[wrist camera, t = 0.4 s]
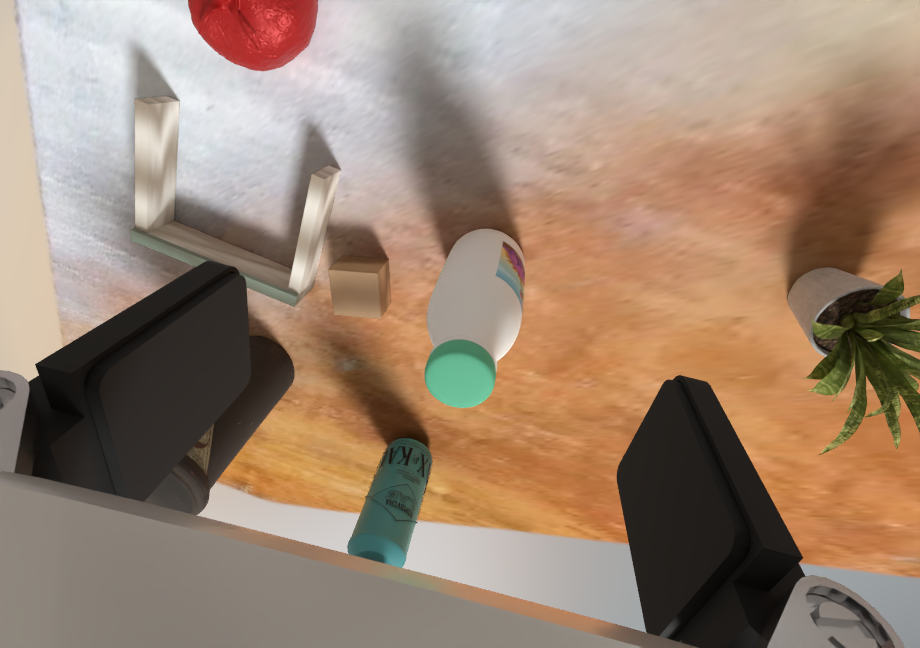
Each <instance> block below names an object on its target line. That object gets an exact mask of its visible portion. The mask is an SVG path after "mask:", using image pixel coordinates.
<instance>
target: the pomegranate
mask: <svg viewBox="0 0 920 648" xmlns="http://www.w3.org/2000/svg"><path fill="white" fill-rule="evenodd" d="M188 5H189V9H190V13H191V19H192V22H193V25H194V26H195V28H196V29H197V31H198V32H199V34H200V35H201V36H202V38H203V39H204V40H205V41H206V42H207V43H208V44H209V45H210V46H211V47H212V48H213V49H214V50H215V51H216V52H218V53H219V54H220V55H221V56H223V57H225V58H226V59H227V60H229V61H231V62H233V63H234V64H237V65H240V66H243V67H246V68H248V69H251V70H256V71H267V70H272V69H276V68H279V67H282V66H284V65H285V64H287V63H288V62H290V61H292V60H293V59H294V58H295V57H296V56H297V55H298V54H299V53H300V52H301V51H303V50H304V49H305V48H306V47H307V46H308V45H309V43H310V40H311V37H312V34H313V32H314V29H315V25H316V17H317V12H318V0H188Z"/></svg>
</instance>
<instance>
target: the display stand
mask: <svg viewBox="0 0 920 648" xmlns="http://www.w3.org/2000/svg"><path fill="white" fill-rule="evenodd" d="M179 106H180V101H178V100H176V99H173V98H171V97H169V96H161V97H149V98H138V99H135V228H134V229H131V230H130V232H131V241H133V242H135V243H138V244H140V245H143V246H145V247H148V248H150V249H153V250H155V251H158V252H160V253H163V254H165V255H167V256H170V257H172V258H175V259H177V260H180V261H182V262H185V263H187V264H190V265H192V266H195V267H197V266H199V265H200V264H202V263H203V262H206V261H213V262H217V263H221V264H225V265H230V266H234V267H236V268H237V269H238V271H239V273H240V275H243V276H244V277H245V279H246V287H247V288H249V289H252V290H254V291H257V292H259V293H262V294H264V295H266V296H269V297H271V298H274V299H276V300H279V301H281V302H284V303H286V304H289V305H291V306H294V307H295V306H296V305H297V304H298V303H299V302H300V301H301V299H302V298H303V297H304V296H305V295H306V294H307V293H308V292H309V291H310V290H311V289H312V288H313V286H314V282H315V278H316V274H317V269H318V265H319V261H320V257H321V253H322V248H323V244H324V240H325V236H326V232H327V227H328V223H329V219H330V215H331V211H332V206H333V202H334V198H335V194H336V190H337V185H338V181H339V177H340V173H341V170H339V169H337V168H335V167H332V166H330V165H329V166H327V167H325V168H323V169H321V170H319V171H317V172H315V173H313V174H312V175H311V180H310V184H309V189H308V194H307V199H306V204H305V209H304V214H303V219H302V224H301V228H300V233H299V238H298V243H297V248H296V253H295V258H294V263H293V268H292V269H291V268H288V267H286V266H283V265H281V264H278V263H276V262H274V261H271V260H269V259H266V258H264V257H261V256H259V255H256V254H254V253H252V252H249V251H247V250H244V249H242V248H239V247H237V246H234V245H232V244H230V243H227V242H225V241H222V240H220V239H217V238H215V237H212V236H210V235H208V234H205V233H203V232H200V231H198V230H195V229H193V228H190V227H188V226H186V225H183V224H181V223H178V222H176V221H174V213H175V191H176V170H177V148H178V127H179Z"/></svg>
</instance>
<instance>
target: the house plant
mask: <svg viewBox="0 0 920 648" xmlns="http://www.w3.org/2000/svg"><path fill="white" fill-rule="evenodd" d="M903 290H904V282H903V277H902V270H901V271H900V273H899V275H897V276H896V277H895V278H893V279H892V280H890V281H889V282H888V283H886V284H885V285H884V286H883V285H880V284H877V283H875V282H872V281H869V280H867V279H864V278H861V277H858V276H856V275H853V274H850V273H848V272H845V271H842V270H839V269H837V268H830V267H826V268H818V269H815V270H812V271H810V272H808V273H805V274H804V275H802V276H801V277H800V278H798V279H797V280H796V282H795V283H794V284H793V286H792V288H791V290H790V292H789V295H788V298H787V299H788V305H789V307H790V308H791V310H792V312H793V314H794V315H795V317H796V319H797V320H798V322H799V324H800V326H801V327H802V329H803V331H804V332H805V334H806V336H807V338H808V339H809V341H810V343H811V344H812V346H813V348H814V349H815V350H816V351H817V352H818V353H820V354H821V355H823V356H825V358H824V359H823V360H822V361H821V362H820V363H819V364H818V365H817V366H816V367H815V369H814V370H813V372H812V373H811V374H810V375H809V376H808V377H807V378H802V379H822V380H821V381H820V382H819V383H818V384H817V385H816V386H815V388H813V389H811V390H809V391H812V392H816V393H819V394H823V395H835V394H837V395H836V397H837V396H838V394H839V393H840V392H841V391H842V390H843V389H844V388H845V386H846V384H847V382H848V380H849V378H850V374H851V371H852V369H853V366H854V362H855V373H856V388H855V392H854V397H853V400H852V402H851V405H850V407H849V410H850V409H851V408H852V410H851V413H850V415H849V417H848V418H847V420H846V422H845V424H844V426H843V428H842V430H841V432H840V434H839V435H838V437H837V438H836V439H835V440H834V441H833V442H831V443H830V444H829V445H828V446H827V447H826V448H825V449H824V450H823V451H822V453H821V454H823V453H826V452H828V451H830V450H832V449H834V448H836V447H838V446H839V445H841V444H842V443H843V442H845V441H846V440H847V439H849V438H850V437H851V436H852V435H853V433H854V432H855V431H856V430H857V428H858V427H859V425H860V423H861V422H862V419H863V417H864V415H865V411H866V406H867V396H866V376H867V378H868V379H869V381H870V383H871V384H872V386H873V388H874V389H875V391H876V393H877V396H878V398H879V400H880V403H881V405H882V407H881V408H880V409H878V410H876V411H874V412H872V413H870V414H868V415H867V416H865V417H870V416H875V415H879V414H881V413H883V412H884V413H885V416H886V420H887V423H888V426H889V428H890V431H891V433H892V435H893V438H894V445H895V446H896V448H898V445H899V442H900V436H901V431H900V425H899V421H898V418H899V415H900V406H901V404H900V398H899V395H900V396H902V398H903V399H904V401H905V403H906V404H907V406H908V408H909V410H910V412H911V414H912V416H913V418H914V420H915V422H916V425H917V427H918V429H919V432H920V394H919V393H918V392H917V391H916V390H917V389H918V387H919V384H918V383H917V381H915V380H914V379H913V378H912V377H911V376H910V375H909V374H911V375H913V376H914V377H916V378H918V379H920V360H919V359H917V358H915V357H913V356H911V355H909V354H907V353H905V352H903V351H901V350H899V349H898V348H896V347H894V346H893V345H892V344H895V345H897V346H899V347H902V348H905V349H908V350H912V351H916V352H920V333H919V332H914V331H910V330H918V331H920V319H910V307H912V306H914V305H916V304H918V303H920V295H918V296H913V297H909V298H904V297H903V296H902V295H901V294H902V293H903ZM908 373H909V374H908ZM865 374H866V375H865ZM807 390H808V389H807ZM898 393H899V395H898ZM836 397H835V398H836ZM835 398H834V399H835ZM833 401H834V400H833ZM833 401H832V402H833ZM852 406H853V407H852ZM849 410H848V412H849ZM848 412H847V413H848ZM821 454H819V455H821Z"/></svg>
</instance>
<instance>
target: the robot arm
mask: <svg viewBox="0 0 920 648" xmlns="http://www.w3.org/2000/svg"><path fill="white" fill-rule="evenodd" d="M35 365H36V368H37V370H38V373H39V376H37V377H36V378H34V379H32V380H31V381H29V382H28V381H27V380H26V379H25V378H24V377H23V376H21V375H19V374H16V373H13V372H10V371H1V370H0V648H905V647H904V644H903V642H902V641H901V639H900V638H899V636H898V635H897V634H896V632H895V631H894V629H893V628H892V627H891V625H890V624H889V623H888V622H887V621H886V620H885V619H884V618H883V617H882V616H881V615H880V613H879V612H878V611H877V610H876V609H875V608H874V607H872V606H871V605H870V604H869V603H868V602H866V601H865V600H864V599H863V598H862V597H860V596H859V595H858V594H856V593H855V592H853V591H851V590H850V589H848V588H847V587H845V586H844V585H842V584H840V583H837V582H835V581H832V580H830V579H828V578H825V577H819V576H813V575H811V576H806V577H805V575H804V573H803V571H802V569H801V567H800V565H799V562H800V561H801V560H802V559H803V557H802V555H801V553H800V551H799V549H798V547H797V546H796V544H795V542H794V540H793V538H792V536H791V534H790V533H789V531H788V529H787V527H786V525H785V523H784V521H783V520H782V518H781V516H780V514H779V512H778V510H777V508H776V507H775V505H774V503H773V501H772V499H771V497H770V496H769V494H768V492H767V490H766V488H765V486H764V484H763V483H762V481H761V479H760V477H759V475H758V473H757V471H756V470H755V468H754V466H753V464H752V462H751V460H750V458H749V457H748V455H747V453H746V451H745V449H744V447H743V445H742V444H741V442H740V440H739V438H738V436H737V434H736V432H735V431H734V429H733V427H732V425H731V423H730V421H729V419H728V418H727V416H726V414H725V412H724V410H723V408H722V406H721V405H720V403H719V401H718V399H717V397H716V395H715V393H714V392H713V390H712V388H711V386H710V385H709V383H708V382H705V381H701V380H697V379H693V378H689V377H685V376H681V375H679V376H676V377H675V378H674V379H673V380H666V381H665V382H664V383H663V385H662V387H661V389H660V390H659V392H658V394H657V396H656V398H655V400H654V401H653V403H652V405H651V407H650V409H649V411H648V412H647V414H646V416H645V418H644V420H643V422H642V423H641V425H640V427H639V429H638V431H637V433H636V434H635V436H634V438H633V440H632V442H631V444H630V445H629V447H628V449H627V451H626V453H625V455H624V456H623V458H622V460H621V462H620V464H619V466H618V470H617V484H618V489H619V494H620V499H621V504H622V509H623V515H624V520H625V525H626V530H627V535H628V540H629V546H630V551H631V556H632V561H633V566H634V571H635V576H636V582H637V587H638V592H639V597H640V602H641V607H642V612H643V618H644V623H645V628H646V632H647V633H645V632H641V631H638V630H634V629H631V628H627V627H624V626H620V625H617V624H613V623H609V622H605V621H602V620H598V619H594V618H590V617H586V616H583V615H579V614H575V613H571V612H568V611H564V610H560V609H556V608H553V607H549V606H545V605H541V604H537V603H534V602H529V601H526V600H522V599H518V598H515V597H511V596H507V595H503V594H500V593H496V592H492V591H488V590H484V589H480V588H477V587H473V586H469V585H465V584H462V583H458V582H454V581H450V580H446V579H442V578H438V577H435V576H431V575H427V574H423V573H419V572H415V571H411V570H407V569H404V568H400V567H396V566H392V565H388V564H385V563H381V562H377V561H373V560H369V559H365V558H361V557H357V556H354V555H350V554H346V553H342V552H338V551H334V550H330V549H326V548H322V547H319V546H315V545H311V544H307V543H303V542H299V541H295V540H291V539H287V538H284V537H280V536H276V535H272V534H268V533H264V532H260V531H256V530H252V529H247V528H244V527H240V526H236V525H232V524H228V523H224V522H220V521H216V520H212V519H208V518H204V517H200V516H196V515H192V514H189V513H185V512H181V511H177V510H173V509H169V508H165V507H161V506H157V505H153V504H149V503H145V502H144V501H145V500H146V499H147V498H148V497H149V496H150V495H151V494H152V492H153V491H154V490H155V489H156V488H157V487H158V486H159V485H160V483H161V482H162V481H163V480H164V479H165V478H166V477H167V476H168V474H169V473H170V472H171V471H172V470H173V469H174V468H175V467H176V465H177V464H178V463H179V462H180V461H181V460H182V459H183V458H184V456H185V455H186V454H187V453H188V452H189V451H190V450H191V449H192V447H193V446H194V445H195V444H196V443H197V442H198V441H199V440H200V438H201V437H202V436H203V435H204V434H205V433H206V432H207V431H208V429H209V428H210V427H211V426H212V425H213V424H214V423H215V422H216V420H217V419H218V418H219V417H220V416H221V415H222V414H223V413H224V411H225V410H226V409H227V408H228V407H229V406H230V405H231V404H232V402H233V401H234V400H235V399H236V398H237V397H238V396H239V395H240V393H241V392H242V391H243V390H244V389H245V388H246V386H247V385H248V383H249V380H250V377H251V360H250V342H249V324H248V306H247V288H246V279H245V277H244V276H243V275H240V273H239V271H238V269H237V268H236V267H234V266H230V265H225V264H221V263H217V262H213V261H206V262H203V263H202V264H200V265H199V266H197V267H195V268H194V269H192V270H190V271H189V272H187V273H185V274H184V275H182V276H180V277H179V278H177V279H175V280H174V281H172V282H170V283H169V284H167V285H165V286H164V287H162V288H161V289H159V290H157V291H156V292H154V293H152V294H151V295H149V296H147V297H146V298H144V299H142V300H141V301H139V302H137V303H136V304H134V305H132V306H131V307H129V308H127V309H126V310H124V311H122V312H121V313H119V314H118V315H116V316H114V317H113V318H111V319H109V320H108V321H106V322H104V323H103V324H101V325H99V326H98V327H96V328H94V329H93V330H91V331H89V332H88V333H86V334H84V335H83V336H81V337H80V338H78V339H76V340H75V341H73V342H71V343H70V344H68V345H66V346H65V347H63V348H61V349H60V350H58V351H56V352H55V353H53V354H51V355H50V356H48V357H46V358H45V359H43V360H42V361H40V362H38V363H37V364H35Z"/></svg>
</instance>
